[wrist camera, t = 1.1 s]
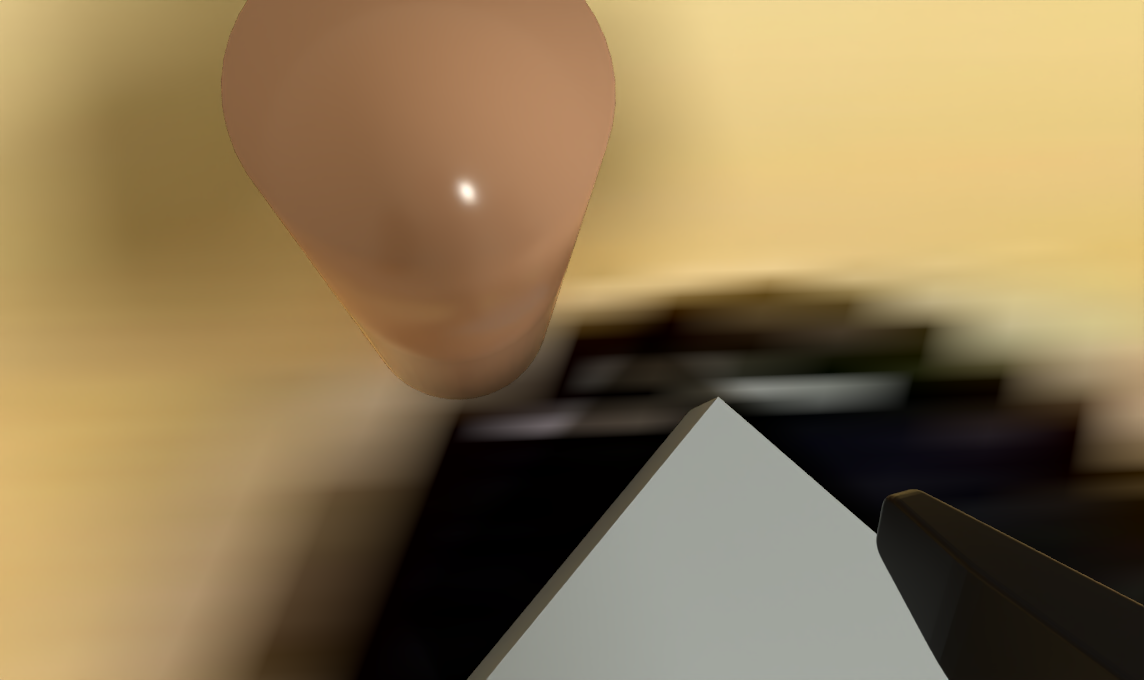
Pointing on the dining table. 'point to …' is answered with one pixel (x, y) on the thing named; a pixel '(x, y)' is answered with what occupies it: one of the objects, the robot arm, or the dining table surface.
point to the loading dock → (718, 578)
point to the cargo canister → (427, 165)
